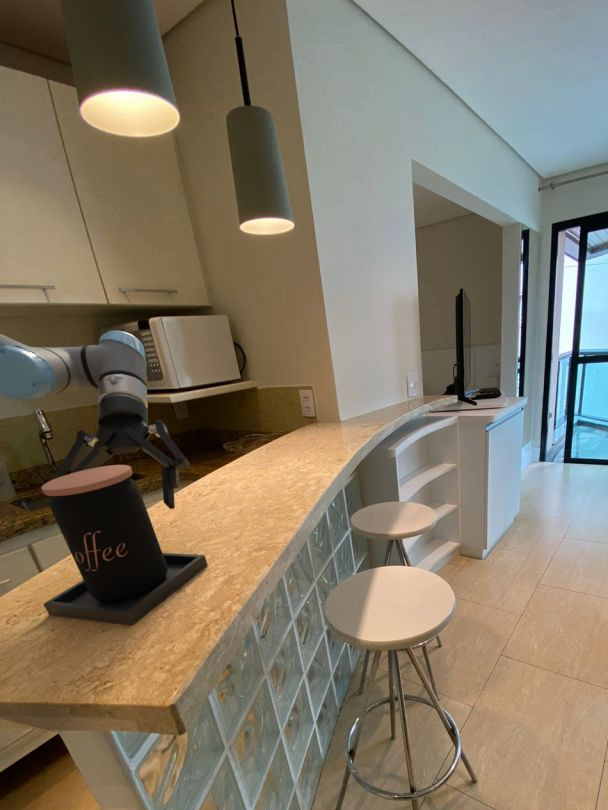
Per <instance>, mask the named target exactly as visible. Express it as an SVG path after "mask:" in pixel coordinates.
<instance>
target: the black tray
mask: <svg viewBox="0 0 608 810" xmlns="http://www.w3.org/2000/svg"><path fill="white" fill-rule="evenodd" d="M162 553H163V556H164V559H165V562H166V564H167V568H168V570H167V573H166V577H165V579H164V581H163V582H162V583H161V584H160V585H159V586H158V587H157V588H155V589H154V590H152V591H151V592H149V593H147V594H145V595H143V596H141V597H138V598H135V599H132V600H129V601H125V602H121V603H110V604H108V603H103V602H101V601H100V600H96V599H95V598H94V597H93V596H92V595H91V594H90V593H89V591H88V588H87V586H86V584H85V582H84V580H83V579H82V580H81V581H79V582H78V583H76V584H74V585H73V586H70V587H69V588H67V589H65V590H64V591H62V592H61V593H59V594H58V595H56V596H54V597H52V598H50V599H49V600H47V601H46V602H44V603H43V607H44V609H45V610H46V612H47V614H48V616H53V617H62V618H70V619H78V620H85V621H93V622H103V623H110V624H118V625H123V626H125V625H126V626H134V625H135V624H136V623H137V622H139V621H140V620H141V619H142V618H143V617H145V616H146V615H147V614H148V613H150V612H151V611H152V610H153V609H155V608H156V607H158V605H160V604H161V603H162V602H164V601H165V600H166V599H168V597H170V596H171V595H172V594H173V593H175V592H176V591H178V590H179V589H180V588H181V587H183V586H184V585H185V584H186V583H187V582H189V581H190V580H191V579H192V578H194V577H195V576H197V574H199V573H200V572H201V571H203V570H204V569H205V568H206V567H208V561H207V558H206V555H205V554H193V553H192V554H191V553H176V552H175V553H174V552H162Z"/></svg>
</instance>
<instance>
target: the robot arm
mask: <svg viewBox="0 0 608 810" xmlns="http://www.w3.org/2000/svg"><path fill="white" fill-rule="evenodd" d="M147 367H148V362H147V360H146V351H145V346H144V345H143V343H142V342H141V341H140V339H138V338H137V337H136V336H134V335H133V334H131V333H129V332H125V331H122V330H109V331H107V332H106V333H103V334H102V335H101V336H100V338H99V341H98V343H97V344H91V345H83V346H66V347H65V346H62V347H50V346H49V347H47V346H46V347H45V346H43V347H42V346H41V347H40V346H29V345H27V344H24V343H21V342H20V341H17V340H15V339H13V338H10V337H9V336H6V335H3V334H1V333H0V396H1V397H3V398H5V399H9V400H14V401H15V400H17V401H20V400H21V401H34V400H38V399H41V398H44V397H48V396H52V395H57V394H63V393H68V392H75V391H86V390H96V389H97V390H98V399H97V401H98V406H97V425H98V429H97V430H96V432H86V431H85V430H82V429H81V430H78V431H77V432H76V437H75V442H74V443H73V445H72V446H71V448H70V450H69V451H68V453H67V454H66V456H65V458H64V459H63V461H61V464H60V466H58V468H57V470H56V471H55V473H54V475H53V476H52V480H54V479H56V478H59V477H61V476H65V475H68V474H71V473H75V472H79V471H83V470H87V469H92V468H97V467H102V466H103V464H104V463H106V461H108V460H111V459H112V458H113V457H114V456H115V455H117V456H120V455H124V454H128V453H130V454H133V453H137V451H139V450H142V451H143V452H144V453H146V454H147V455H149V456H150V457H152V458H153V459H154V460H156V462H158V463H160V465H162V466H163V467H161V477H162V498H163V504H165V506H166V507H167V508H168V509H170V510H173V509H175V508H176V506H175V505H176V504H175V491H174V490H175V489H179V488H180V475H179V473H180V471H181V470H183V469H188V468H190V467H191V464H190V462H189V460H188V459H187V458H186V456H185V455H184V454H183V453H182V451H181V450H180V448H179V447H178V446H177V444H176V443H175V442H174V440H173V439H172V438H171V437H170V434H169V430H168V427H167V426H166V424H165V423H164V422H163V420H162V419H157V420H156V421H155V422H154V424H150V425H149V411H148V407H149V406H148V405H149V404H148V403H149V402H148V390H147V389H148V387H147ZM152 434H154V435H155V436H156V437H157V438H160V439H161V440H162V441H163V443H164V444H165V446H166V447H167V448H168V450H169V451H170V452H171V454H172V455H173V456H174V457H175V459H174V460H173V458H170V457H169V456H167V455H166V454H165V453H163V452H162V451H160V450H159V449H158V448H157V447H155V446H154V445H153V444H151V443H150V442H149V441H148V439H149V438H150V437H151V435H152ZM92 448H93V449H92ZM104 448H106V449H107V450H105V449H104Z"/></svg>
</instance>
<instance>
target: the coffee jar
mask: <svg viewBox="0 0 608 810" xmlns="http://www.w3.org/2000/svg"><path fill="white" fill-rule="evenodd" d="M132 469H133V468H132V466H131V465H127V464H112V465H104V466H103V465H102V466H100V467H97V468H92V469H87V470H83V471H79V472H75V473H71V474H68V475H65V476H61V477H59V478H56V479H54V480H53V479H51V480H48V481H47V482H46V483H44V484H43V485H42V486H41V489H40V490H41V491H42V493H43V494H44V495H46V496H47V497H50V501H49V504H48V505H49V509H50V511H51V513H52V515H53V518H54V520H55V521H56V524H57V526H58V529H59V530H60V532H61V535H62V537H63V539H64V541H65V543H66V545H67V547H68V550H69V553H70V554H71V556H72V559H73V560H74V562H75V565H76V567H77V569H78V571H79V573H80V575H81V577H82V580H84V582H85V584H86V586H87V588H88V591H89V593H90V594H91V595H92V596H93V597H94V598H95V599H96V600H100V601H101V602H103V603H108V604H110V603H121V602H125V601H129V600H132V599H135V598H138V597H141V596H143V595H145V594H147V593H149V592H151V591H152V590H154V589H155V588H157V587H158V586H159V585H160V584H161V583H162V582H163V581H164V579H165V577H166V573H167V570H168V568H167V564H166V562H165V559H164V556H163V553H164V552H163V551H162V548H161V545H160V543H159V540H158V537H157V534H156V532H155V529H154V526H153V523H152V521H151V518H150V516H149V515H150V514H149V513H148V509H147V507H146V505H145V502H144V501H145V500H144V498H143V496H142V493H141V490H140V488H139V485H138V483H137V482H136V480H134V479H132V475H133V470H132Z"/></svg>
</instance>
